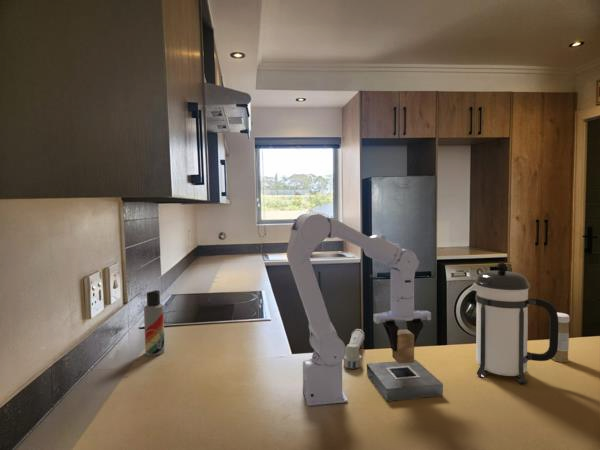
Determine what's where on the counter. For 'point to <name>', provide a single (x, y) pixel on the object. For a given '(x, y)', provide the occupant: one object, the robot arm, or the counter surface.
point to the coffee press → (507, 324)
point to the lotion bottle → (154, 324)
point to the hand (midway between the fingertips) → (402, 349)
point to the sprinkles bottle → (562, 338)
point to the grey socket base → (404, 380)
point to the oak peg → (404, 347)
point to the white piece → (354, 350)
